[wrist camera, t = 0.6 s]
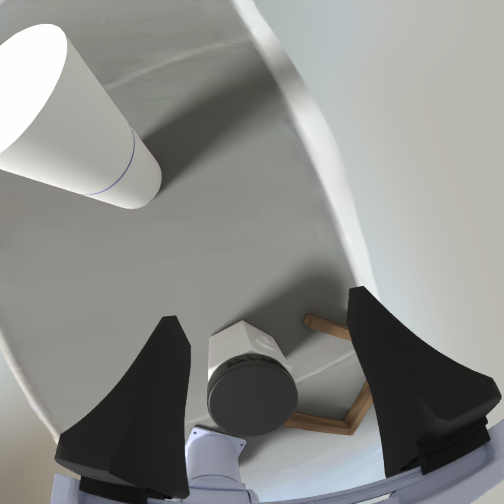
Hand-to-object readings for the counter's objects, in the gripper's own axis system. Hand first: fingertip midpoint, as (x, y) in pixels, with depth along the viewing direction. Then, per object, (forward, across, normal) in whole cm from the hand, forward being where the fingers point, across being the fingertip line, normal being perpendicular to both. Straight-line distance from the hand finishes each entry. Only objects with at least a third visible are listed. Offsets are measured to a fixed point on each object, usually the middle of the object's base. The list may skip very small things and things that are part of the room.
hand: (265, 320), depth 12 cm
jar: (+14, +5, +20) cm, 25 cm away
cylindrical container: (+24, +14, -1) cm, 28 cm away
